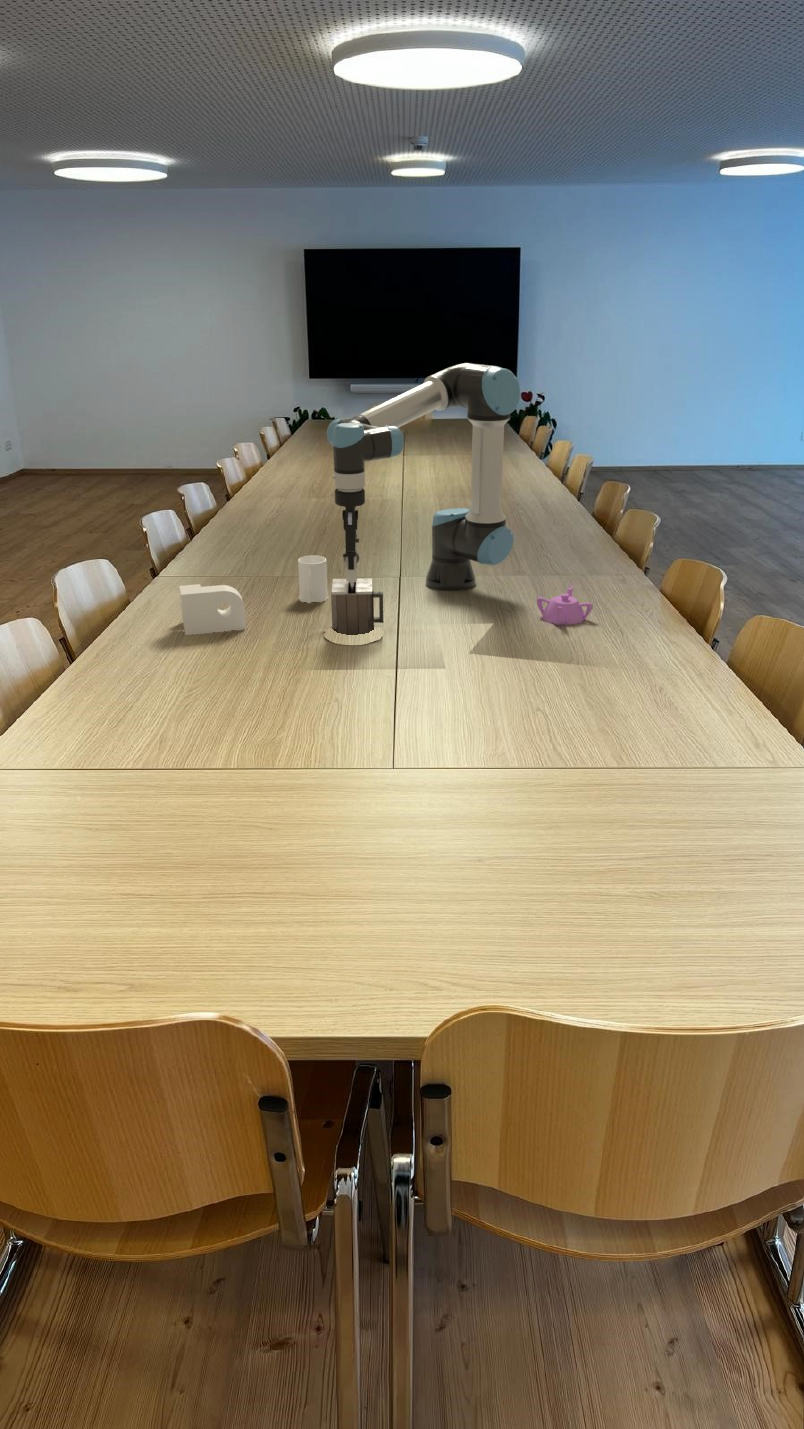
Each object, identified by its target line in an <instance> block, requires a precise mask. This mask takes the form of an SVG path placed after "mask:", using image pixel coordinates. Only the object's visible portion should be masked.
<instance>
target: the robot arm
mask: <svg viewBox="0 0 804 1429" xmlns="http://www.w3.org/2000/svg"><path fill="white" fill-rule="evenodd" d="M520 398H521V386H520V383H519V380H518V378H517V376H516V375H515V374H514V373H513V372H512V371H511V370H510V369H508V368H503V367H501V366H498V365H488V364H486V365H485V364H479V363H473V362H464V363H458V364H455V365H452V366H449V367H447V368H444V369H442V370H440V371H437V372H435V373H434V374H431V375H429V376H427V377H425V379H424V381H423V383H422V384H419V385H417V386H415V387H413V388H411V389H409V390H407V391H405V392H403V393H401V394H399V395H396V396H395V397H392V398H390V399H388V400H386V401H384V402H382V403H380V404H378V405H376V406H374V407H372V408H370V409H368V410H365V411H363V412H362V413H359V414H357V415H355V416H353V417H351V418H349V419H346V418H337V419H334V420H332V421H331V422H330V423H329V425H328V426H327V429H326V438H327V441H328V443H329V444H330V445H331V447H332V451H333V452H332V454H333V470H334V471H333V472H334V473H333V474H332V475H331V479H333V480H334V487H335V489H334V503H335V505H337V506H339V507H344V508H345V509H343V510H342V520H343V522H342V523H343V530H344V531H345V534H344V535H345V540H344V541H345V553H343V554H342V557H343V558H344V557H346V563H345V579H346V581H357V579H358V573H357V572H358V571H357V569H358V563H356V552H357V553H358V543H360V538H358V535H357V530H358V520H359V510H358V509H356V508H357V507H361V506H363V505H364V504H366V490H365V489H364V488H365V486H366V478H365V477H366V476H365V475H366V474H365V473H366V472H365V465H366V464H365V463H366V462H371V461H376V460H383V459H390V458H392V457H397V456H399V455H400V454H401V453H402V452H403V450H404V445H405V442H404V441H405V439H404V435H403V433H402V430H400V428H401V427H403V426H404V425H407V424H409V423H412V422H413V421H415V420H417V419H419V418H421V417H423V416H424V415H427V414H429V413H431V412H433V411H434V410H435V411H437V412H440V411H444V410H445V409H449V408H455V407H456V408H460V407H461V408H466V410H467V416H466V417H467V418H466V419H467V420H468V421H469V423H471V425H472V436H471V437H472V439H471V440H472V443H471V476H470V478H471V481H470V482H471V483H470V484H471V485H470V486H471V487H470V488H471V489H470V508H465V507H464V508H463V507H458V508H457V507H456V508H447V509H441V510H438V511H436V512H435V513H433V516H432V524H431V562H430V565H429V568H428V570H427V573H426V576H425V586H426V587H428V588H429V589H432V590H436V591H446V592H457V591H458V592H459V591H466V590H470V589H472V588H474V587H475V586H476V581H477V580H476V574H475V571H474V568H473V564H472V561H474V562H476V563H479V564H480V565H486V566H493V567H494V566H497V565H499V564H501V563H503V562H504V561H505V560H506V559H507V557H508V556H509V555H510V554H511V551H512V549H513V545H514V539H515V537H514V532H512V530H511V529H510V528H509V527H507V526H506V525H507V524H506V523H507V516H506V515H505V514H504V513H503V511H502V491H503V488H502V487H503V467H504V466H503V465H504V464H503V463H504V460H503V459H504V442H505V441H504V436H505V425H506V424H507V422H508V421H510V420H511V414H512V413H513V412H514V411H515V410H516V408H517V405H519V402H520ZM348 551H353V552H348Z"/></svg>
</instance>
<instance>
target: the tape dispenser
mask: <svg viewBox="0 0 804 1429" xmlns="http://www.w3.org/2000/svg"><path fill="white" fill-rule="evenodd" d="M178 588H179V595H180V608H181V617H182V625H183V629H184V630H183V631H184V634H185V636H192V634H193V635H203V634H204V635H205V634H212V633H213V632H215V633H223V632H224V631H225V632H232V631H231V630H236V631H244V630H243V629H246V630H247V620H246V619H247V618H246V608H245V603H244V601H243V600H244V599H243V597H242V595H241V594H240V592H239V591H238V590H237V589H236V588H234V587H232V586H230V585H227V584H226V585H225V584H220V585H209V586H208V585H207V586H202V585H201V584H200V583H199V584H197V583H196V584H188V585H179V587H178ZM224 604H226V605H229V606H228V608H226V609H219V607H220V606H221V605H224Z"/></svg>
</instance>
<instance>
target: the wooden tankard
mask: <svg viewBox="0 0 804 1429" xmlns="http://www.w3.org/2000/svg"><path fill="white" fill-rule="evenodd" d="M330 598H331V600H330V601H331V624H332V626H331V627H332V629H333V630H334V631H336V632H337V633H341V634H346V635H358V634H365V633H369V632H370V631H372V630H374V626H375V623H379V624H384V591H374V585H373V578H370V577H369V578H368V577H367V578H357V581H354V594H351V593H350V581H346V578H332V584H331V586H330ZM374 598H375V599H376V598H378V599H379V600H378V604H379V605H378V608H379V609H378V610H379V612H378V613H379V614H378V615H379V616H375V612H374V611H375V610H374V608H375V607H374V606H375V604H374V602H375V601H374Z"/></svg>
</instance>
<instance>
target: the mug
mask: <svg viewBox="0 0 804 1429" xmlns="http://www.w3.org/2000/svg"><path fill="white" fill-rule="evenodd" d="M297 562H298V563H297V564H298V565H297V566H298V582H299V583H298V586H299V597H298V600H299V601H300V602H302V603H304V602H307V603H306V604H312V603H311V602H320V603H324V602H323V601H325V602H327V601H328V600H329V598H330V597H329V594H328V572H327V558H326V557H324V556H323V555H322V556H321V555H317V554H316V555H315V554H314V555H312V554H311V555H305V556H301V557H299V558H298V560H297ZM327 599H328V600H327ZM326 600H327V601H326Z"/></svg>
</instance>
